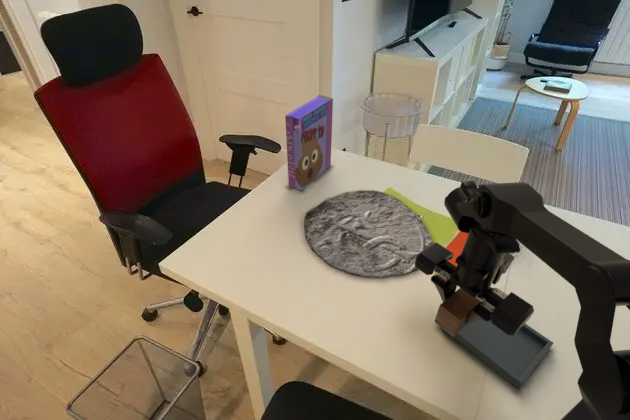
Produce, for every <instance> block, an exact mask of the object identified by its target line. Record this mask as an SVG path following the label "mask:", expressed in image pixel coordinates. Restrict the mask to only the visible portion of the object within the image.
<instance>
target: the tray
mask: <svg viewBox="0 0 630 420" xmlns="http://www.w3.org/2000/svg"><path fill="white" fill-rule="evenodd" d="M443 331H444V332H446V331H445V330H443ZM452 338H453V339H455V341H457V342H458V343H459V344H461V345H462V346H463V347H465V348H466V349H467V350H468V351H470V353H472V354H473V355H474V356H476V357H477V358H478V359H479V360H481V361H482V362H483V363H485V364H486V365H487V366H488V367H490V368H491V369H492V370H493V371H495V372H496V373H497V374H498V375H499V376H501V377H502V378H503V379H505V380H506V381H507V382H508V383H510V384H511V385H512V386H513V387H515V388H516V389H517V390H520V388H521V387H522V385H523V384H524V383H525V381H526V380H527V379H528V378H529V376H530V375H531V373H532V372H533V371H534V370H535V368H536V367H537V366H538V365H539V363H540V362H541V361H542V360H543V358H544V357H545V355H547V353H548V352H549V350H550V349H551V348H552V346H553V345H554V341H552V340H550V339H549V338H547V337H546V336H544V335H543V334H542V333H540V332H539V331H537V330H536V329H534V328H533V327H531V326H530V325H528V324H527V323H525V324H524V325H523V326H522V327H521V328H520V329H519V330H518V331H517V333H516V334H515V335H514V336H512V335H507V334H506V333H505V332H503V331H502V330H500V329H499V328H498V327H496V326H495V325H494V324H492V322H491V320H490V321H489V322H486V321H484V320H482V319H480V320H475V321H473V322H471V323H470V324H468V325H466V326H465V327H464V328H462V329H461V330H460V331H459V332H458V333H457V334H456V335H455V336H454V337H452Z"/></svg>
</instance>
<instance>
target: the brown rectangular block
mask: <svg viewBox="0 0 630 420" xmlns="http://www.w3.org/2000/svg"><path fill="white" fill-rule="evenodd" d="M479 302H481V301H480V300H478V299H477V298H474V297H473V296H471V295H470V294H468V293H467V292H466V291H464V290H463V289H462V288H460V287H458V289H456V291H455V293H453V294H452V295H451V296H450V297H449V298H448V299H446V300H445V301H444V302H443V301H442V303H441V304H439V307H438V309H437V311H436V316H435V319H434V321H433V323H435V324H436V325H437V326H438V327H439V328H441V330H443V331H444V330H445V331H444V332H445V333H447V334H448V335H449V336H451V337H452V338H453V337H454V336H455V335H456V334H457V333H458V332H459V331H460V330H461V329H462V328H464V327H465V326H466V325H467V324H466V319H467V317H468V315H469V314H470V312H471V310H472V309H473V308H474V307H475V306H476V305H477V304H478V303H479Z"/></svg>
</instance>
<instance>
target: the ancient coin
mask: <svg viewBox="0 0 630 420" xmlns="http://www.w3.org/2000/svg"><path fill="white" fill-rule="evenodd" d="M303 223H304V224H303V225H304V226H303V228H304V234H305V239H306V241H307V243H308V244H309V245H310V248H311V250H312V251H313V252H314V253H315V254H316V255H318V257H320V259H322V260H323V261H324V262H325V263H327V264H328V265H330V266H332V267H333V268H336V269H338V270H340V271H343V272H345V273H348V274H351V275H355V276H361V277H365V278H385V277H389V276H402V275H406V274H409V273H411V272H415V271H417V270H419V269H418V268H416V267H415V260H416V257H417V255H418V254H419V253H420V252H421V251H423V250H424V249H426V248H427V247H428V246H430V245H431V244H433V243H434V241H433V239H432V236H431V233H430V231H429V230H428V227H427V226H426V224H425V223H424V221H423V220H422V219H421V217H420V216H419V215H418V213H415V211H413V209H411V208H410V207H409V206H407V205H406V204H405V203H404V202H402V200H400V199H399V198H396V197H395V196H394V195H391V194H388V193H385V192H382V191H378V190H369V189H368V190H367V189H365V190H361V189H360V190H352V191H346V192H343V193H340V194H337V195H334V196H332V197H328V198H326V199H325V200H323V201H322V202H321V203H319V204H318V205H316V206H314V207H312V208H311V209H309V210H308V211H306V213H305V216H304V222H303Z"/></svg>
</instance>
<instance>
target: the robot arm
mask: <svg viewBox="0 0 630 420" xmlns="http://www.w3.org/2000/svg"><path fill="white" fill-rule="evenodd" d="M443 201H444V202H443V204H444V207H445V209H446V211H447V212H448V214H449V216H450V217H451V219H452V221H453V222H454V224H455V226H456V228H457V230H458V231H459V232H462V233H465V234H467V236H466V239H465V242H464V244H463V247H462V250H461V253H460V254H459V255H458V256H457V257H455V261H454V263H455V264H456V265H455V264H453V263H452V262H450V261H452V260H453V258H454V256H455V253H454V252H452V251H451V250H449V249H447V248H446V247H444V246H442V245H441V244H440V243H439V242H433V244H431V245H430V246H428V247H427V248H426V249H424V250H423V251H421V252H420V253H419V254H418V255H417V257H416V260H415V267H416V268H418V269H417V270H419V271H421V272H422V273H423V274H424V275H426V276H431V277H430V282H431V283H432V284H434V286H435V288H436V290H437V292H438V294H439V297H440V299H441V301H442V303H443V302H444V301H445V300H446V299H448V298H449V297H450V296H451V295H452V294H453V293H455V292H456V291H457V287H458V288H462V289H463V290H464V291H466V292H467V293H468V294H470V295H471V296H473V297H474V298H477V299H478V300H480V301H481V302H479V303H478V304H477V305H476V306H475V307H474V308H473V309H472V310H471V312H470V314H469V315H468V317H467V319H466V324H467V325H468V324H470V323H471V322H473V321H475V320H480V319H482V320H484V321H486V322H489V321H490V320H491V322H492V324H494V325H495V326H496V327H498V328H499V329H500V330H502V331H503V332H505V333H506V334H507V335H512V336H514V335H515V334H516V333H517V331H518V330H519V329H520V328H521V327H522V326H523V325H524V324H527V322H528V321H529V320H530V319H531V318H532V316H533V315H534V313H535V309H534V305H532V304H531V303H529V302H528V301H527V300H525V299H524V298H522V297H520V296H519V295H518V294H516V293H514V292H513V291H510V293H509V294H508V293H506V292H504V291H503V290H501V289H500V288H498V287H492V285H496V284H497V283H499V281H500V279H501V277H502V276H503V275H504V274H506V273H507V271H508V269H509V268H510V266H511V265H512V263H513V261H514V260H515V256H514V255H513V254H516V253H517V254H518V253H520V252H521V246H520V244H521V245H522V246H524V247H525V248H526V249H527V250H529V251H530V252H531V253H532V254H533V255H535V257H537V258H538V259H539V260H541V261H542V262H543V263H544V264H546V266H548V267H549V268H550V269H551V270H553V272H555V273H556V274H557V275H559V277H561V278H562V279H564V280H565V281H566V282H567V283H569V284H570V285H571V286H572V287H573V288H574V290H575V293H576V297H577V299H578V302H579V305H580V309H579V314H578V320H577V323H576V328H575V334H574V339H573V340H574V346H575V350H576V353H577V357H578V359H579V363H580V366H581V370H582V371H581V373H580V375H579V378H578V379H577V386H578V389H579V391H580V392H579V393H580V395H581V399H580V400H579V401H578V402H577V403H576V405H574V406H573V407H572V408H571V409H570V410H569V411H568V412H567V413H566V414H565V415H564V416H563V417H562V418H561V419H560V420H630V349H620V350H614V349H613V347H612V343H611V339H612V332H613V326H614V320H615V314H616V309H617V307H624V306H625V307H626V308H627V310H629V311H630V259H627V258H625V257H624V256H622V255H620V253H617V252H616V251H614V250H613V249H612V248H609V247H608V246H606V245H605V244H603V243H601V242H600V241H598V240H596V239H595V238H593V237H591V236H590V235H588V234H587V233H586V232H583V231H582V230H580V229H579V228H578V227H576V226H574V225H572V223H569V222H568V221H566V220H564V219H562V217H559V215H556V214H555V213H553V212H551V211H550V210H549V209H548V208H546V207H545V201H544V197H543V196H542V195H541V194H540V193H539V192H538V191H537V190H536V189H535V188H534V187H532V186H531V185H530V184H529V183H527V182H525V181H524V182H523V181H521V182H520V181H518V182H517V181H516V182H500V183H499V182H498V183H481V184H479V185H477V184H476V182H475V180H465V181H461V183H460V186H458V187H456V188H454V189H452V190H451V191H450V192H449V193H448V194H447V195H446V196H445V198H444V200H443Z"/></svg>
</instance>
